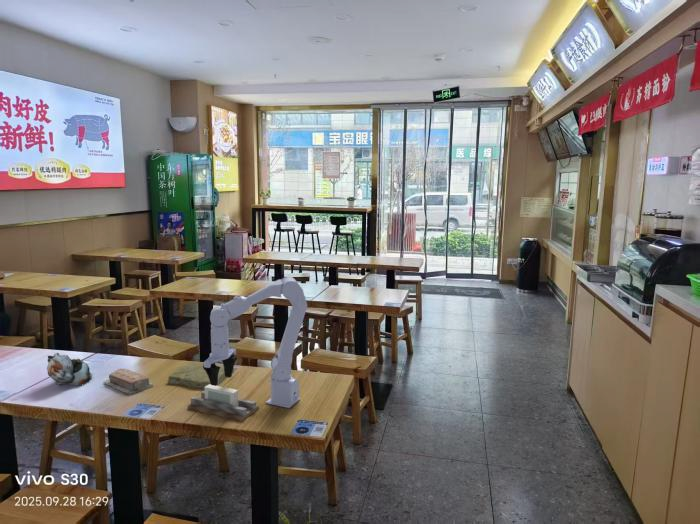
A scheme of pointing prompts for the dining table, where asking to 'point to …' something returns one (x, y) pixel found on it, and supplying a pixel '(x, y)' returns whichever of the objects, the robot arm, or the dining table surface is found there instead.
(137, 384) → the packaged product
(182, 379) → the green stone slab
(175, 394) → the dining table surface
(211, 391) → the tall cream box
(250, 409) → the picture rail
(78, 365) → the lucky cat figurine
